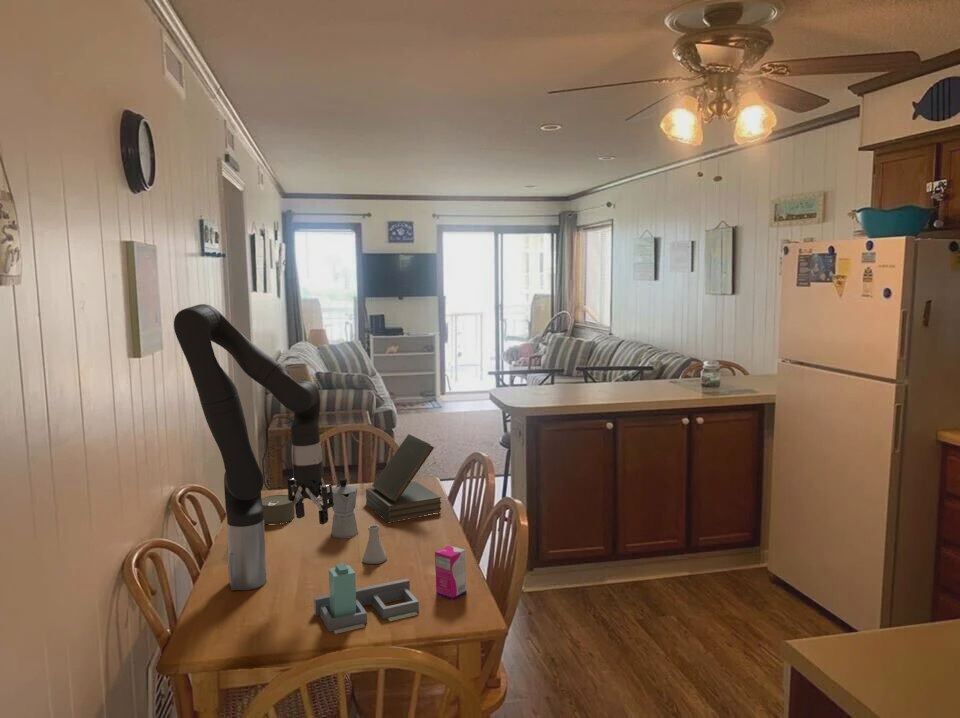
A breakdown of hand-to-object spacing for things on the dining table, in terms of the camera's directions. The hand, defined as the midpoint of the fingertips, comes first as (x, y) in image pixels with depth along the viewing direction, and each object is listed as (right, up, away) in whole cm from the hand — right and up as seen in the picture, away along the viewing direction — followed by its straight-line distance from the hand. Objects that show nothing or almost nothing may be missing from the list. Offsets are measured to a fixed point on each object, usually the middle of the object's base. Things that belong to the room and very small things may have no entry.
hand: (312, 520), depth 177 cm
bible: (+16, -12, +67) cm, 70 cm away
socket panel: (+17, -20, -11) cm, 28 cm away
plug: (+11, -20, -14) cm, 27 cm away
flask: (+13, -17, +21) cm, 30 cm away
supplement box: (+36, -19, -1) cm, 41 cm away
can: (-26, -13, +56) cm, 63 cm away
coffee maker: (0, -14, +43) cm, 46 cm away
